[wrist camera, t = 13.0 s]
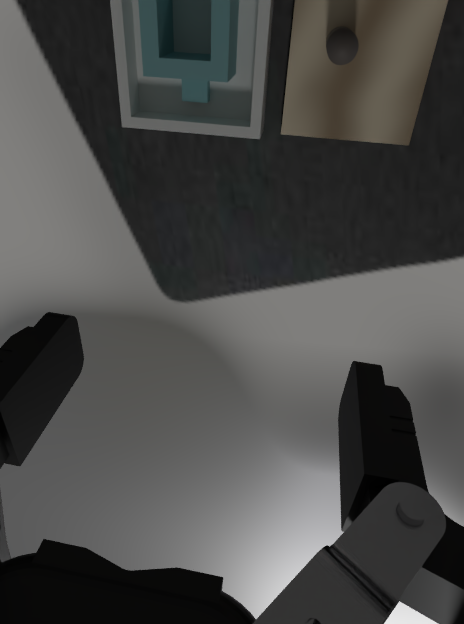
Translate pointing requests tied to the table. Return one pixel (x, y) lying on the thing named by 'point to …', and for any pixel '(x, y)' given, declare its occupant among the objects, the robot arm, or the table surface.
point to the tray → (168, 91)
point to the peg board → (359, 68)
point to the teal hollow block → (189, 66)
